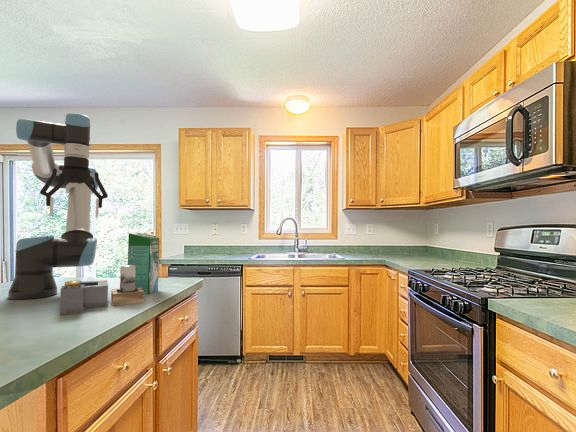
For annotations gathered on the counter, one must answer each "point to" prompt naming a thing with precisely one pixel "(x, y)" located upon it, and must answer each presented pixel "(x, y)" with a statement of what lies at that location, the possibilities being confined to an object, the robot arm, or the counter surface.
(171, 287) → the counter surface
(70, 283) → the gold rounded cylinder
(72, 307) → the socket block
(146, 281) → the milk carton
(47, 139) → the robot arm
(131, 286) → the shiny silver rounded cylinder
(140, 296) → the tray
